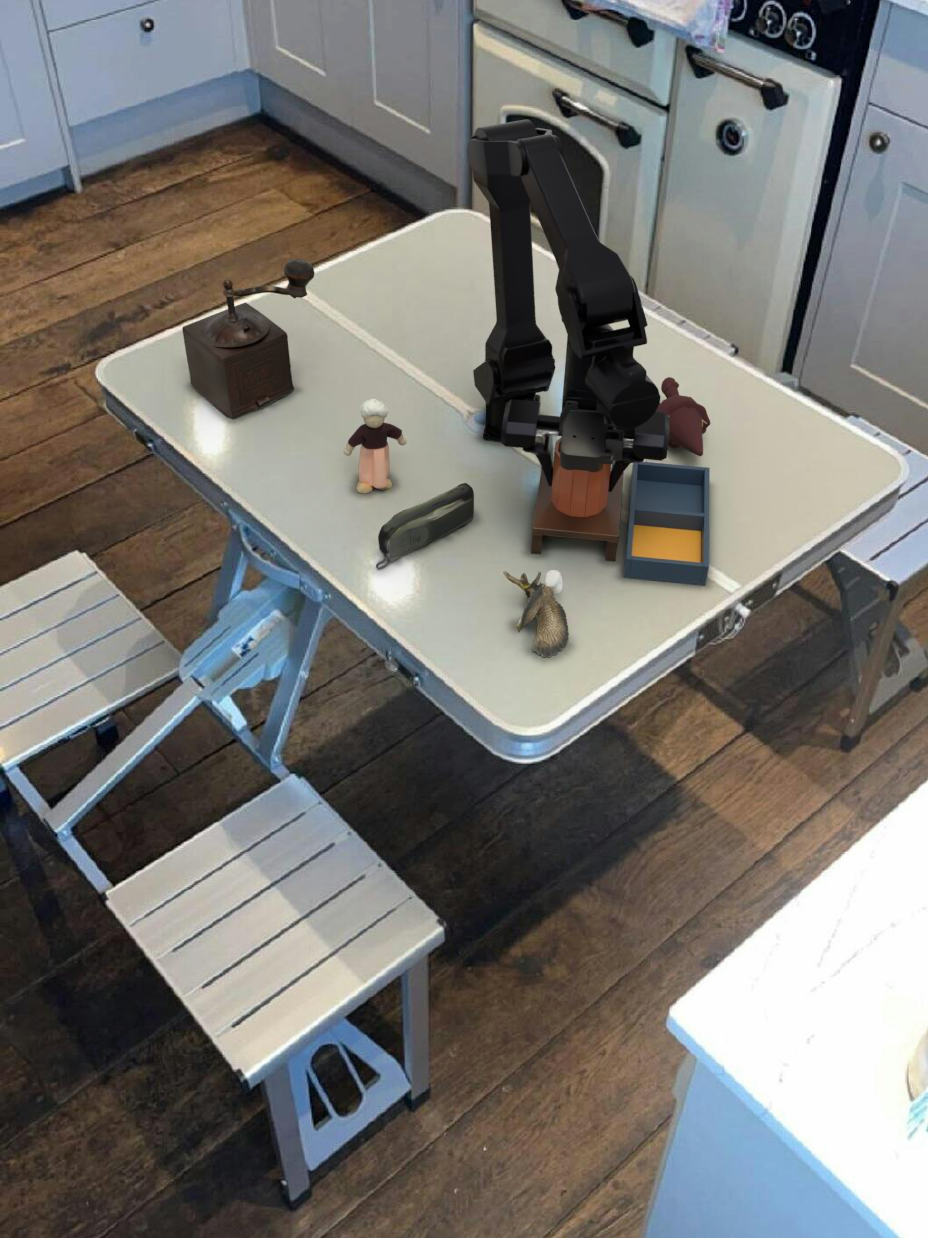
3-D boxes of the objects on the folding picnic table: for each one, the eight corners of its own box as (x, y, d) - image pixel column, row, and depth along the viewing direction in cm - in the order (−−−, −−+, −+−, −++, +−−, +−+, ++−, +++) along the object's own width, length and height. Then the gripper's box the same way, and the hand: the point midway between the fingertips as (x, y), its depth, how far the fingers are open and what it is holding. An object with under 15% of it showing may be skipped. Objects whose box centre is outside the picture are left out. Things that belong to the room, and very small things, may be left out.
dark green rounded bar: (463, 476, 155) (365, 528, 148) (479, 488, 153) (381, 541, 146) (462, 508, 158) (366, 560, 151) (478, 520, 157) (382, 573, 150)
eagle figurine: (484, 599, 145) (502, 644, 138) (517, 549, 142) (538, 593, 135) (539, 621, 149) (559, 667, 141) (573, 573, 146) (595, 617, 138)
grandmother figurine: (356, 502, 159) (350, 418, 150) (343, 484, 161) (337, 400, 152) (412, 484, 161) (410, 400, 152) (399, 467, 164) (396, 383, 155)
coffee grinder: (233, 423, 170) (215, 303, 157) (189, 385, 176) (168, 267, 163) (329, 380, 177) (319, 262, 164) (283, 345, 183) (271, 228, 170)
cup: (549, 514, 151) (552, 463, 146) (553, 479, 156) (557, 428, 151) (605, 519, 151) (611, 469, 145) (608, 484, 155) (614, 433, 150)
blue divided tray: (623, 577, 150) (626, 558, 148) (630, 479, 162) (633, 460, 160) (705, 585, 149) (709, 566, 147) (706, 486, 162) (709, 467, 159)
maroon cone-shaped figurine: (737, 432, 159) (695, 373, 170) (683, 427, 157) (644, 367, 168) (718, 480, 163) (678, 419, 174) (665, 475, 161) (628, 413, 172)
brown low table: (530, 553, 152) (532, 527, 150) (540, 489, 161) (542, 463, 158) (615, 561, 152) (618, 536, 149) (620, 496, 160) (623, 471, 157)
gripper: (497, 412, 136) (493, 523, 147) (674, 427, 135) (657, 539, 146) (508, 353, 144) (504, 463, 155) (676, 367, 142) (660, 478, 153)
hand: (580, 486), depth 152 cm, fingers closed on cup, 7 cm apart
